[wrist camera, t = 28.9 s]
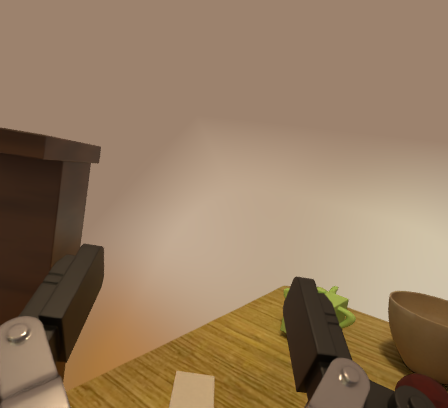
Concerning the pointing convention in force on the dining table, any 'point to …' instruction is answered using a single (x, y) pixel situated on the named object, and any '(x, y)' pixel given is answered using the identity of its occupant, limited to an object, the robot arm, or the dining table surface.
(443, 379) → the brown bowl
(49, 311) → the robot arm
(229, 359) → the dining table surface
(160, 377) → the dining table surface
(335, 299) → the teapot
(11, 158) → the dark brown wooden post
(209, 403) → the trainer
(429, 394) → the dark red rounded piece
